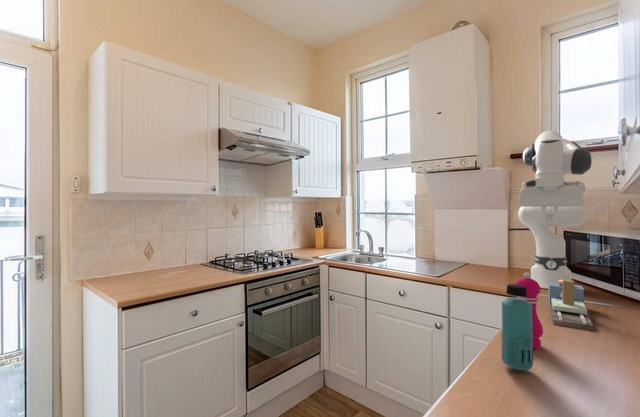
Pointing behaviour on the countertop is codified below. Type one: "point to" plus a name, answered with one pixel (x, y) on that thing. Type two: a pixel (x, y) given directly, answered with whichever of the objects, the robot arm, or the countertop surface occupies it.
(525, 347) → the beverage bottle
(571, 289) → the carriage
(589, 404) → the countertop surface
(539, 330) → the pepper mill
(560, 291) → the blue side pieces
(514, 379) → the countertop surface
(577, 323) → the track
